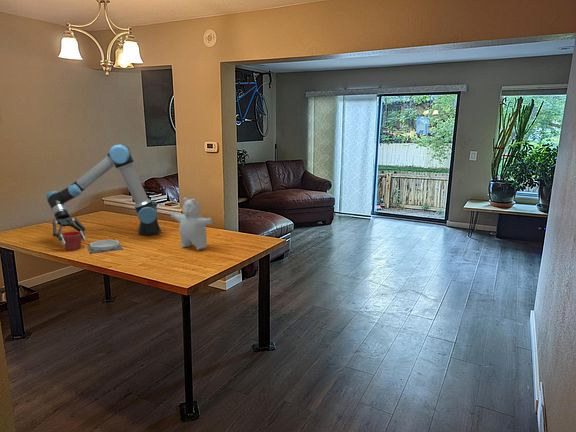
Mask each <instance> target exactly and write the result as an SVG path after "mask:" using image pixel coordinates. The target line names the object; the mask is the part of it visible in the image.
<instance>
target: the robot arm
mask: <svg viewBox="0 0 576 432" xmlns="http://www.w3.org/2000/svg"><path fill="white" fill-rule="evenodd" d="M134 164H135V163H134V160H133V157H132V154H131V150H130V147H128V146H127V145H125V144H124V143H121V144H120V143H118V144H115V145H113V146H112V147H110V150H109V152H108V153H107V154H106V156H105V157H104V158H103V159H102V160H101V161H100V162H98V163H97V164H95V165H94V166H93V167H92V168H90V169H89V170H88V171H87V172H85V173H84V174H82V175H81V176H80V177H79V178H78V179H76V180H75V181H74V182H73V183H71V184H70V185H69V186H67V187H66V188H63V189H62V190H60V191H57V190H52V191H49V192H48V193H46V196H45V199H46V201H47V203H48V205H49V207H50V209H51V211H52V214H53V216H54V218H55V220H53V221H52V223H51V225H52V237H56V238H57V239H58V241H60V242H61V244H62V246H64V247H65V244H66V242H65V240H64V238H63V236H62V234H63V233H61V232H62V229H63V227H65V228H66V227H70V228H73V229H74V230H76V232H81V233H82V237H81V241H82V242H85V241H86V237H85V230H86V227H85V226H84V225H83V224H82V223H81V222H80V221H79V220H78V217H73V218H72V217H71V216H70V214H69V211H68V210H67V208H66V206H65V204H66V203H67V202H70V201H71V200H73V199H74V198H78V197H79V196H80V195H82V192H83V191H85V190H86V189H87V188H89V187H90V186H92V184H94V183H95V182H97V180H98V179H101V177H102V176H104V175H105V174H106V173H108V172H109V171H110V170H111V169H113V168H114V167H115V169H117V170H119V172H120V174H121V176H122V178H123V181H124V183H125V184H126V187H127V189H128V191H129V192H130V195H131V197H132V199H133V201H134V203H135V204H134V208H135V211H136V213H137V218H138V220H139V225H138V230H137V233H138V235H141V236H153V235H154V236H155V235H159V234H160V233H161V230H162V229H161V227H160V225H159V222H158V205H157V203H158V202H157V201H156V200H152V199H149V197H148V195H147V194H146V190H145V189H144V186H143V184H142V182H141V180H140V178H139V176H138V174H137V172H136V169H135V167H134ZM57 224H58V225H59V228H58V231H57Z"/></svg>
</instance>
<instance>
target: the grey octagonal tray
mask: <svg viewBox="0 0 576 432" xmlns="http://www.w3.org/2000/svg"><path fill="white" fill-rule="evenodd" d="M87 248H88V252H89V254H97V253H98V254H99V253H106V252H114V251H122V250H124V248H123V246H122V245H121V244H120V242H119V240H117V239H103V240H96V241H94V242H91V243H89V244H87Z"/></svg>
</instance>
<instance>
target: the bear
mask: <svg viewBox="0 0 576 432" xmlns="http://www.w3.org/2000/svg"><path fill="white" fill-rule="evenodd" d="M182 200H183V205H182V213H180V214H179V213H176V212H170V216H171V219H175V221H177V222H178V223H179V229H178V232H179V235H180V242H181V243H180V247H182V248H189V247H191V246H192V245H193V246H194V247H195V249H196V251H199V250H201V251H202V250H204V249H206V248H207V246H208V240H207V239H208V238H207V229H206V226H208V225H213V222H214V221H213V220H212V218H211V217H207V218H206V217H203V215H201V214H199V213H200V210H201V208H200V207H201V206H200V204H199V202H198V201H197V200H196V199H195V198H191V199H190V198H187V197H184V198H183V199H182Z"/></svg>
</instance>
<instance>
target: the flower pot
mask: <svg viewBox="0 0 576 432" xmlns="http://www.w3.org/2000/svg"><path fill="white" fill-rule="evenodd" d="M61 234H62V236H63V238H64V240H65V242H66V244H65V245H64V248H65V250H66V251H77V250H78V251H79V250H80V249H81V247H82V246H81V244H82V238H81V237H82V233H81V232H79V231H67V232H63V233H61Z"/></svg>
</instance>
